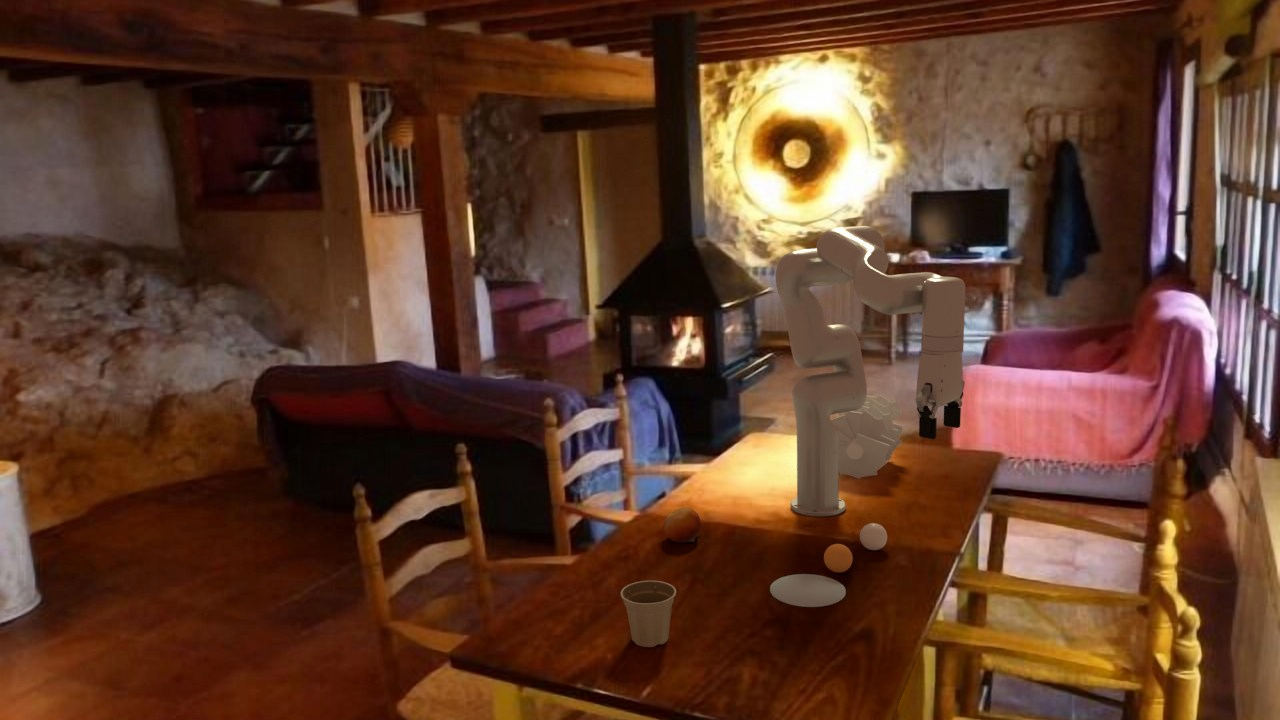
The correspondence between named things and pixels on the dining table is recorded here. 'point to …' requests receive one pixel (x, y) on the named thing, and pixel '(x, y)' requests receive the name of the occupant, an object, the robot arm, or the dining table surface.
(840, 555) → the orange ball
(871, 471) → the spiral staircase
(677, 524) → the fruit
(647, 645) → the flower pot
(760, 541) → the dining table surface
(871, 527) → the cue ball
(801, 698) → the dining table surface
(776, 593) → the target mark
